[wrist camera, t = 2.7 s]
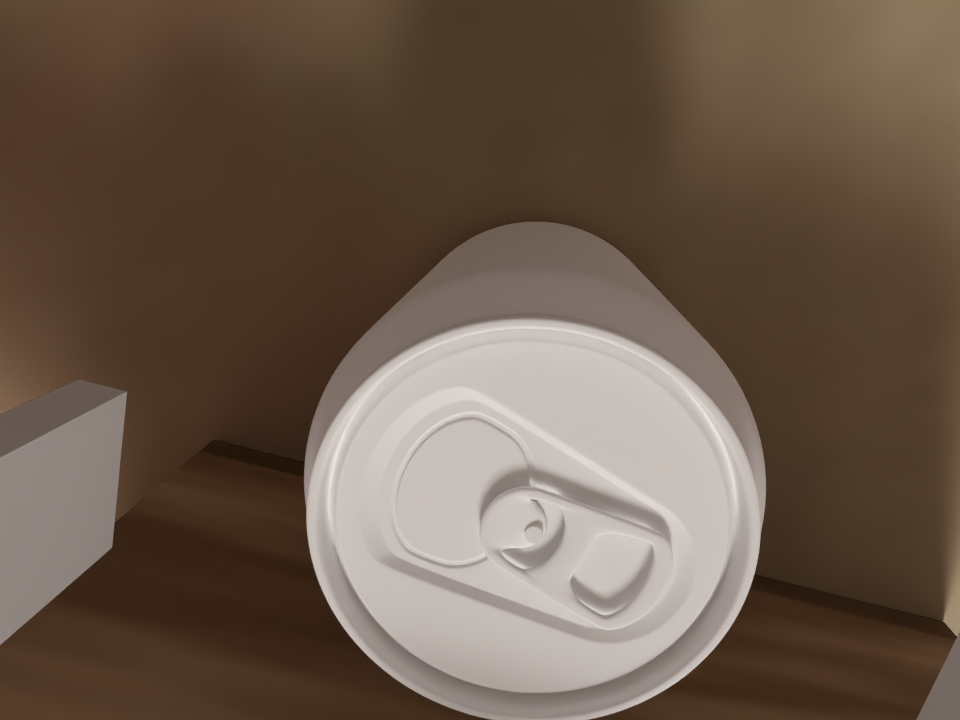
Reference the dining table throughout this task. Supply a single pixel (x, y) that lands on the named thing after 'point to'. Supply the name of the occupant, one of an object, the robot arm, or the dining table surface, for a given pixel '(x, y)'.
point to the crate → (341, 662)
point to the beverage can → (534, 483)
